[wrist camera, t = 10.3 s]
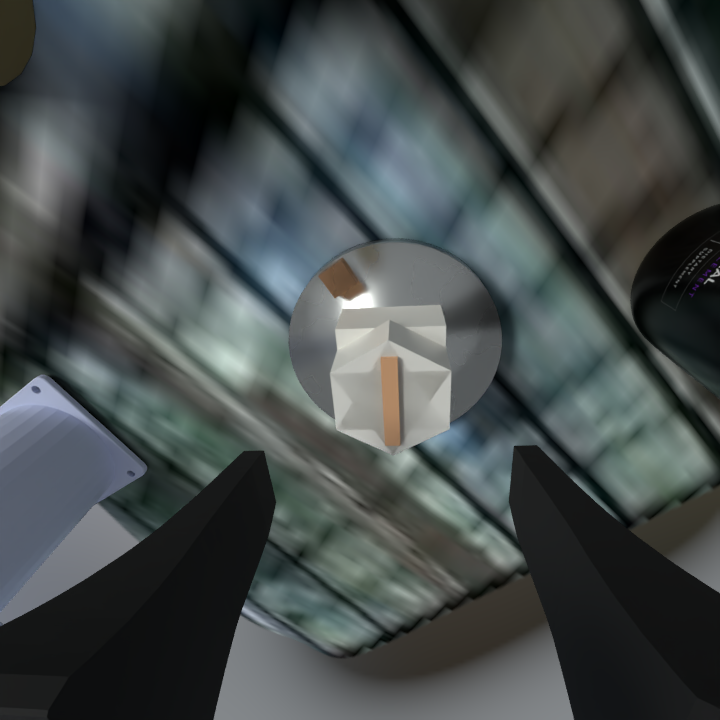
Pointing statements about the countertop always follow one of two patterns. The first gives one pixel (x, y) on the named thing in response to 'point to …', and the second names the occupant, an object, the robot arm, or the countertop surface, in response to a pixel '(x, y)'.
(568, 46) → the countertop surface
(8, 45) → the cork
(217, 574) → the robot arm
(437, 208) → the countertop surface
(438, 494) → the countertop surface
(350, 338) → the white faceted lump
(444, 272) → the knobbed pot lid
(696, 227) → the supplement bottle
